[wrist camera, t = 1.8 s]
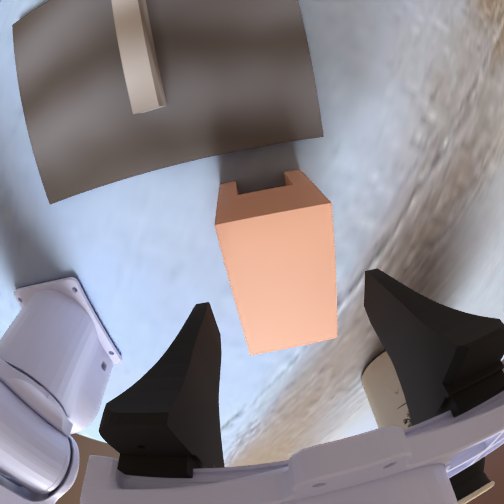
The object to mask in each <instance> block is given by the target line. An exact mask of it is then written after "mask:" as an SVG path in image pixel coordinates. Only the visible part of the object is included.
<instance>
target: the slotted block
mask: <svg viewBox="0 0 504 504" xmlns="http://www.w3.org/2000/svg"><path fill="white" fill-rule="evenodd" d="M284 176H285V183H286V186H282V187H277V188H271V189H266V190H261V191H255V192H250V193H245V194H240V195H239V194H238V189H237V184H236V181H233V182H228V183H223V184H220V187H219V194H218V202H217V210H216V218H215V229H216V232H217V236H218V240H219V244H220V248H221V252H222V255H223V259H224V263H225V267H226V270H227V274H228V278H229V281H230V285H231V289H232V292H233V296H234V300H235V303H236V307H237V311H238V314H239V318H240V321H241V325H242V328H243V332H244V335H245V339H246V342H247V346H248V349H249V353H250V355H255V354H260V353H266V352H272V351H277V350H282V349H287V348H292V347H297V346H302V345H307V344H311V343H316V342H320V341H325V340H329V339H333V338H337V290H336V264H335V245H334V230H333V216H332V204H331V202H330V201H329V200H328V199H327V198H326V197H325V195H324V194H323V193H322V192H321V191H320V190H319V189H318V188H317V187H316V186H315V185H314V184H313V183H312V182H311V181H310V179H309V178H308V177H307V176H306V175H305V174H304V173H303V172H302V171H301V170H300V169H298V170H292V171H286V172H284Z"/></svg>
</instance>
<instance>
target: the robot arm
mask: <svg viewBox="0 0 504 504" xmlns="http://www.w3.org/2000/svg"><path fill="white" fill-rule="evenodd" d="M74 287H75V288H76V289H77V290H76V289H75V288H74ZM14 295H15V297H16V299H17V301H18V302H19V304H20V306H21V307H22V310H21V311H20V312H19V314H18V315H17V316H16V318H15V319H14V321H13V322H12V324H11V325H10V326H9V328H8V329H7V331H6V332H5V334H4V335H3V337H2V338H1V340H0V472H1V473H3V474H4V475H3V474H1V473H0V504H55V502H56V501H57V500H58V499H59V498H60V497H61V496H62V495H63V494H64V493H66V492H67V491H68V490H69V489H70V488H71V486H72V485H73V483H74V481H75V479H76V476H77V473H78V469H79V450H78V446H77V444H76V442H75V440H74V439H73V438H72V437H71V436H70V434H72V433H77V432H80V431H82V430H84V429H85V428H86V427H88V426H89V425H90V424H91V423H92V421H93V420H94V419H95V417H96V415H97V414H98V411H99V408H100V405H101V401H102V398H103V395H104V392H105V388H106V385H107V382H108V379H109V376H110V373H111V370H112V367H113V364H120V363H121V362H122V357H121V356H120V354H119V352H118V351H117V349H116V348H115V346H114V344H113V343H112V341H111V340H110V338H109V336H108V335H107V333H106V331H105V330H104V328H103V326H102V324H101V323H100V321H99V319H98V317H97V316H96V314H95V312H94V310H93V308H92V307H91V305H90V303H89V301H88V299H87V297H86V295H85V293H84V291H83V289H82V288H81V286H80V284H79V282H78V280H77V279H76V278H74V277H68V278H63V279H59V280H54V281H50V282H45V283H41V284H36V285H31V286H27V287H22V288H18V289H16V290H15V291H14ZM364 307H365V310H366V312H367V315H368V317H369V320H370V322H371V324H372V326H373V328H374V330H375V332H376V333H377V335H378V337H379V339H380V341H381V342H382V344H383V346H384V348H385V350H386V351H387V353H388V355H389V357H390V359H391V361H392V363H393V365H394V368H395V371H396V373H397V376H398V379H399V381H400V384H401V387H402V390H403V393H404V396H405V400H406V403H407V407H408V410H409V414H410V418H411V423H412V426H411V427H409V428H406V429H402V427H399V426H392V425H391V426H387V427H382V428H379V429H375V430H372V431H369V432H366V433H362V434H359V435H355V436H352V437H348V438H344V439H340V440H336V441H332V442H328V443H324V444H319V445H315V446H312V447H308V448H305V449H302V450H300V451H298V452H297V453H295V454H293V455H292V456H291V457H290V459H289V460H286V461H280V462H273V463H265V464H257V465H248V466H238V467H224V460H223V452H222V442H221V432H220V419H219V381H220V367H221V338H220V332H219V329H218V327H217V324H216V321H215V318H214V315H213V312H212V309H211V306H210V303H209V302H207V303H201V304H196V305H195V307H194V308H193V310H192V312H191V314H190V315H189V317H188V319H187V320H186V322H185V324H184V326H183V327H182V329H181V330H180V332H179V334H178V335H177V337H176V338H175V340H174V341H173V342H172V344H171V345H170V347H169V348H168V350H167V351H166V352H165V353H164V355H163V356H162V357H161V358H160V359H159V361H158V362H157V363H156V364H155V365H154V366H153V367H152V368H151V369H150V370H149V371H148V372H147V373H146V374H145V375H144V376H143V377H142V378H141V379H140V380H138V381H137V382H136V383H135V384H134V385H132V386H131V387H130V388H129V389H127V390H126V391H125V392H123V393H122V394H120V395H119V396H117V397H116V398H114V399H113V400H111V401H110V402H108V403H106V406H105V409H104V412H103V416H102V420H101V424H100V428H99V433H100V435H101V437H102V438H103V439H104V440H105V441H106V442H107V443H108V444H109V445H111V446H112V447H113V448H114V449H115V450H117V451H118V452H119V453H120V458H119V460H117V459H115V458H111V457H104V456H97V455H90V456H89V460H88V465H87V470H86V474H85V478H84V483H83V488H82V493H81V498H80V503H81V504H458V502H457V499H456V496H455V493H454V491H453V488H452V485H451V483H450V480H449V478H450V477H452V476H454V475H455V474H457V473H459V472H461V471H462V470H464V469H466V468H467V467H469V466H471V465H472V464H474V463H475V462H477V461H478V460H480V459H481V458H483V457H485V456H486V455H487V454H489V453H490V452H492V451H493V450H495V449H496V448H498V447H499V446H500V445H502V444H503V443H504V372H503V371H502V369H503V368H504V365H503V363H502V362H501V359H502V357H503V355H504V324H503V323H502V322H501V320H500V319H496V318H489V317H482V316H477V315H473V314H468V313H465V312H461V311H458V310H455V309H452V308H449V307H447V306H444V305H442V304H439V303H437V302H435V301H432V300H430V299H428V298H426V297H424V296H423V295H421V294H419V293H417V292H415V291H413V290H412V289H410V288H408V287H406V286H405V285H403V284H402V283H400V282H398V281H397V280H395V279H394V278H392V277H390V276H389V275H387V274H386V273H384V272H382V271H381V270H379V269H373V270H368V271H365V294H364ZM5 475H6V476H5Z"/></svg>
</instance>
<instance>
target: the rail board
mask: <svg viewBox="0 0 504 504" xmlns="http://www.w3.org/2000/svg"><path fill="white" fill-rule="evenodd" d="M12 26H13V42H14V53H15V62H16V70H17V78H18V84H19V90H20V96H21V101H22V107H23V112H24V116H25V121H26V125H27V130H28V134H29V138H30V142H31V145H32V149H33V153H34V156H35V160H36V163H37V167H38V170H39V173H40V176H41V180H42V183H43V186H44V189H45V192H46V195H47V197H48V200H49V203H50V204H53V203H55V202H58V201H61V200H63V199H66V198H69V197H71V196H74V195H77V194H80V193H83V192H86V191H89V190H92V189H95V188H98V187H101V186H104V185H107V184H110V183H113V182H116V181H120V180H123V179H126V178H130V177H133V176H136V175H140V174H143V173H147V172H150V171H154V170H158V169H161V168H165V167H169V166H173V165H177V164H181V163H185V162H189V161H193V160H197V159H202V158H206V157H210V156H215V155H219V154H224V153H229V152H234V151H239V150H244V149H249V148H254V147H260V146H265V145H271V144H277V143H283V142H289V141H296V140H303V139H310V138H317V137H323V130H322V123H321V116H320V109H319V103H318V97H317V91H316V85H315V79H314V74H313V68H312V63H311V58H310V53H309V48H308V43H307V38H306V34H305V29H304V25H303V21H302V16H301V12H300V8H299V4H298V0H50V1H48V2H46V3H45V4H43V5H41V6H40V7H38V8H37V9H35V10H34V11H32V12H30V13H29V14H27V15H26V16H24V17H23V18H22V19H20V20H19V21H17V22H16V23H14V24H13V25H12Z"/></svg>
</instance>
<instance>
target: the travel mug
mask: <svg viewBox="0 0 504 504" xmlns="http://www.w3.org/2000/svg"><path fill="white" fill-rule="evenodd" d="M362 385H363V388H364V390H365V393H366V395H367V398H368V401H369V403H370V406H371V408H372V411H373V414H374V417H375V419H376V422H377V425H378V427H379V428H382V427H387V426H391V425H392V426H399V427H402V429H406V428H409V427H411V426H412V423H411V418H410V414H409V410H408V407H407V403H406V400H405V396H404V393H403V390H402V387H401V384H400V381H399V379H398V376H397V373H396V371H395V368H394V365H393V363H392V361H391V359H390V357H389V355H388V353H387V351H385V352H384V353H382V354H381V355H380V356H378V357H377V358H376V359H375V360H374V361H372V362H371V364H370V365H369V366H368V367H367V368H366V370H365V371H364V373H363V376H362ZM484 463H485V457H483V458H481V459H480V460H478V461H477V462H475V463H474V464H472V465H471V466H469V467H467V468H466V469H464V470H462V471H461V472H459V473H457V474H455V475H454V476H452V477H450V478H449V480H450V483H451V485H452V488H453V491H454V493H455V496H456V499H457V502H458V504H465V503H467V502H468V501H471V500H472V499H474V498H476V497H477V496H479V495H480V494H482V493H483V492H485V491H486V490H488V489H490V488H491V487H492V486H494V482H493V481H492V482H491V481H490V480H489V479H488V477H487V476H486V474H485V473H483V472H484Z"/></svg>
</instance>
